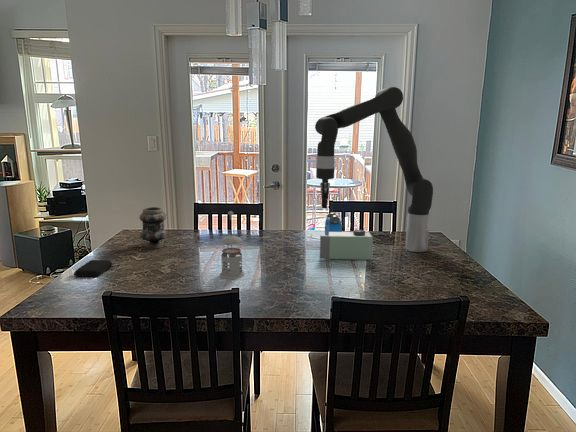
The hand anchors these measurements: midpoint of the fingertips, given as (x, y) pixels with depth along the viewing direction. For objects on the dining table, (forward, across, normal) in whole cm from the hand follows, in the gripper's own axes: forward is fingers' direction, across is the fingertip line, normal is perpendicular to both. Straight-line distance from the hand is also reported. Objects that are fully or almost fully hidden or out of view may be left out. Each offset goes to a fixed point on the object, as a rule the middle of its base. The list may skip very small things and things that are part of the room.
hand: (324, 207), depth 180 cm
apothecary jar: (+22, +13, +78) cm, 83 cm away
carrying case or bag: (+23, -22, +90) cm, 95 cm away
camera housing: (+22, +2, -12) cm, 25 cm away
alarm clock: (+22, +20, -6) cm, 30 cm away
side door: (+22, -3, -9) cm, 24 cm away
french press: (+22, -22, +36) cm, 48 cm away
